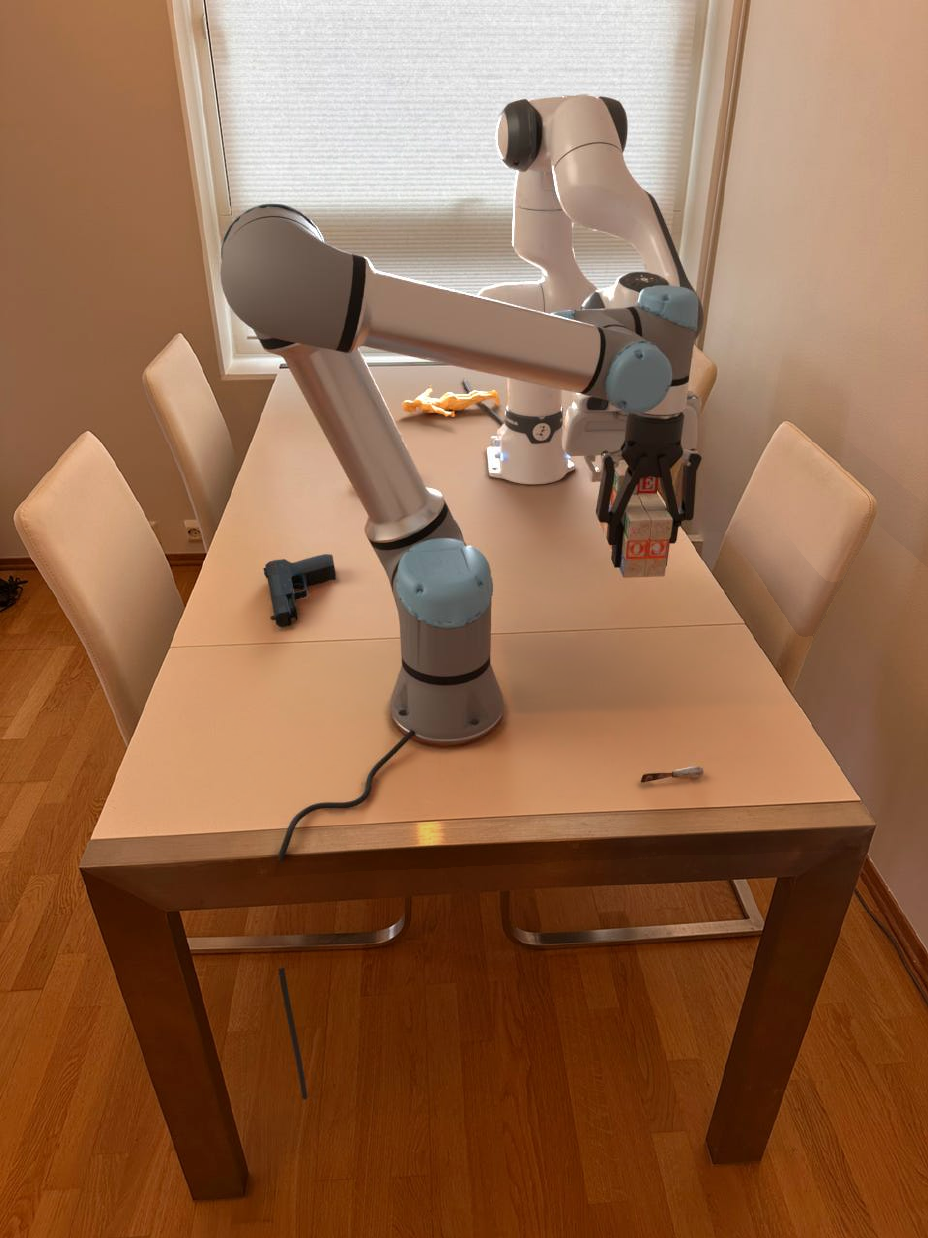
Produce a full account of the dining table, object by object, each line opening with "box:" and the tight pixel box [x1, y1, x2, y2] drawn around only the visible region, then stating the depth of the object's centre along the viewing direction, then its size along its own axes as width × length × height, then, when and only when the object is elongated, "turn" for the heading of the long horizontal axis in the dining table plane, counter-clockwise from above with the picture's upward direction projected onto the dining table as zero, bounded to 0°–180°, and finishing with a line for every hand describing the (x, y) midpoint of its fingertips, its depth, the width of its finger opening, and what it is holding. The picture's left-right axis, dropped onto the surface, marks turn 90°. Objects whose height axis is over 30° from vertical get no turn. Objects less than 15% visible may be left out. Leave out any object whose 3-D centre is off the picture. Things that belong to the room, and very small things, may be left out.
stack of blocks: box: [600, 459, 673, 579], centre depth 134 cm, size 21×6×12 cm, turn 3°
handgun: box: [263, 553, 337, 628], centre depth 146 cm, size 3×18×12 cm
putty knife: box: [640, 765, 705, 784], centre depth 109 cm, size 1×8×2 cm, turn 103°
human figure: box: [402, 385, 500, 418], centre depth 225 cm, size 20×20×4 cm
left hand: (638, 562), depth 131 cm, fingers closed on stack of blocks, 6 cm apart
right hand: (625, 479), depth 138 cm, fingers open, 8 cm apart
